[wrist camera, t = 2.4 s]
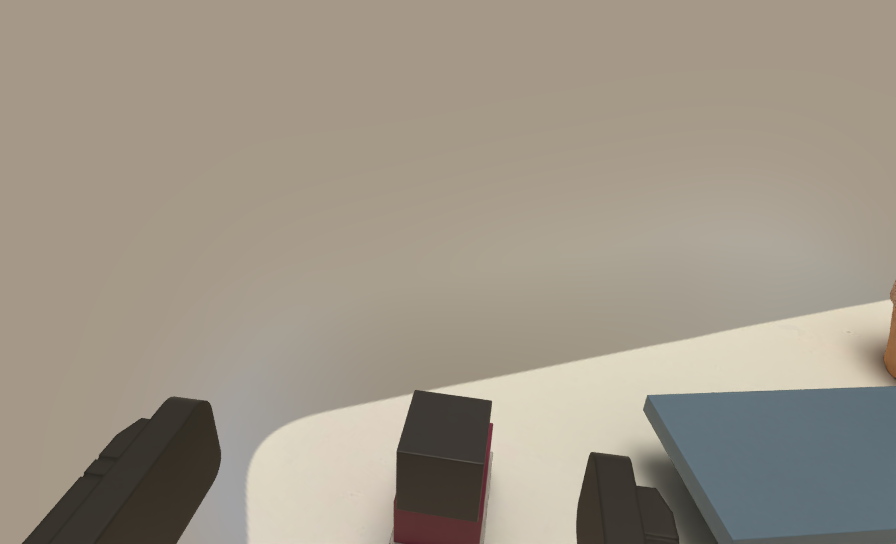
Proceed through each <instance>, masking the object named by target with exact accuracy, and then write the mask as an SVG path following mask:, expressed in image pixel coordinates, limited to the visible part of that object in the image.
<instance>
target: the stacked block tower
mask: <svg viewBox="0 0 896 544" xmlns="http://www.w3.org/2000/svg"><path fill="white" fill-rule="evenodd" d="M491 407H492V401H490V400H483V399H476V398H469V397H462V396H455V395H447V394H440V393H433V392H426V391H419V390H415V391H414V394H413V397H412V401H411V404H410V408H409V411H408V414H407V418H406V421H405V425H404V428H403V431H402V435H401V438H400V442H399V445H398V448H397V462H396V496H395V499H394V527H393V531H392V535H391V539H390V543H389V544H484V534H485V525H486V515H487V505H488V496H489V486H490V476H491V467H492V457H493V452H490V448H491V439H492V430H493V423H490V416H491Z"/></svg>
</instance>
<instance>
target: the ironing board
mask: <svg viewBox="0 0 896 544" xmlns="http://www.w3.org/2000/svg"><path fill="white" fill-rule="evenodd" d="M643 411H644V413H645V414H646V416H647V418H648V420H649V422H650V423H651V425H652V427H653V429H654V430H655V432H656V434H657V436H658V438H659V439H660V441H661V443H662V445H663V446H664V448H665V450H666V452H667V454H668V455H669V457H670V459H671V461H672V462H673V464H674V466H675V468H676V470H677V471H678V473H679V475H680V477H681V478H682V480H683V482H684V484H685V485H686V487H687V489H688V491H689V493H690V494H691V496H692V498H693V500H694V501H695V503H696V505H697V507H698V509H699V510H700V512H701V514H702V516H703V517H704V519H705V521H706V523H707V525H708V526H709V528H710V530H711V532H712V533H713V535H714V537H715V539H716V541H717V542H718V544H896V386H887V387H860V388H832V389H805V390H777V391H749V392H722V393H694V394H667V395H647V398H646V401H645V405H644V408H643Z"/></svg>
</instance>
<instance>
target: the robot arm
mask: <svg viewBox="0 0 896 544" xmlns="http://www.w3.org/2000/svg"><path fill="white" fill-rule="evenodd" d="M220 461H221V450H220V445H219V440H218V435H217V431H216V426H215V421H214V416H213V412H212V408H211V405H210V403H209V402H208V401H204V400H196V399H188V398H181V397H170V398H168V399H167V400H166V401H165V402H164V403H163V404H162V405H161V407H160V408H159V409H158V410H157V411H156V413H155V414H154V415H153V416H152V418H151V419H145V418H141V419H139V420H138V421H136V422H135V423H133V424H132V425H130V426H129V427H128V428H126V429H125V430H123V431H122V432H120V433H119V434H117V435H116V436H115V437H114V438H113V440H112V441H111V442H110V443H109V444H108V445H107V446H106V448H105V449H104V450H103V451H102V452H101V453H100V455H99V458H98V460H95V461H94V462H93V463H92V464H91V465H90V466H89V467H88V468H87V470H86V471H85V472H84V476H83V477H80V478H79V479H78V480H77V481H76V482H75V483H74V485H73V486H72V487H71V488H70V489H69V490H68V491H67V493H66V494H65V495H64V496H63V497H62V498H61V499H60V501H59V502H58V503H57V504H56V505H55V507H54V508H53V509H52V510H51V511H50V512H49V513H48V514H47V516H46V517H45V518H44V519H43V520H42V521H41V523H40V524H39V525H38V526H37V527H36V528H35V530H34V531H33V532H32V533H31V534H30V535H29V536H28V538H27V539H26V540H25V541H24V542H23V543H22V544H176V543H177V542H178V540H179V538H180V537H181V535H182V533H183V532H184V530H185V529H186V527H187V525H188V524H189V522H190V520H191V519H192V517H193V515H194V514H195V512H196V510H197V509H198V507H199V505H200V504H201V502H202V500H203V499H204V497H205V495H206V494H207V492H208V490H209V489H210V487H211V486H212V484H213V482H214V480H215V478H216V476H217V473H218V470H219V467H220ZM576 533H577V544H679V536H678V532H677V528H676V524H675V520H674V516H673V512H672V511H671V509H670V508H669V507H668V505H667V504H666V502H665V501H664V499H663V498H662V496H661V495H660V493H659V492H658V491H657V489H656V488H650V487H642V486H636V483H635V478H634V472H633V467H632V463H631V460H630V458H629V457H627V456H619V455H611V454H603V453H596V452H591V453H590V455H589V458H588V463H587V467H586V471H585V476H584V480H583V484H582V489H581V493H580V497H579V502H578V508H577V521H576Z"/></svg>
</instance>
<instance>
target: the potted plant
mask: <svg viewBox="0 0 896 544" xmlns="http://www.w3.org/2000/svg"><path fill="white" fill-rule="evenodd" d="M890 299H891V301H892V303H893V304H894V306H893V312H892V319H891V327H890V334H889V339H888V345H887V349H886V352H885V355H884V362H885V365H886V367H887V370H888V372H889V373H890V374H891V375H892V376H893V377H895V378H896V280H895V283H894V285H893V288H892V290H891V293H890Z"/></svg>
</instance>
